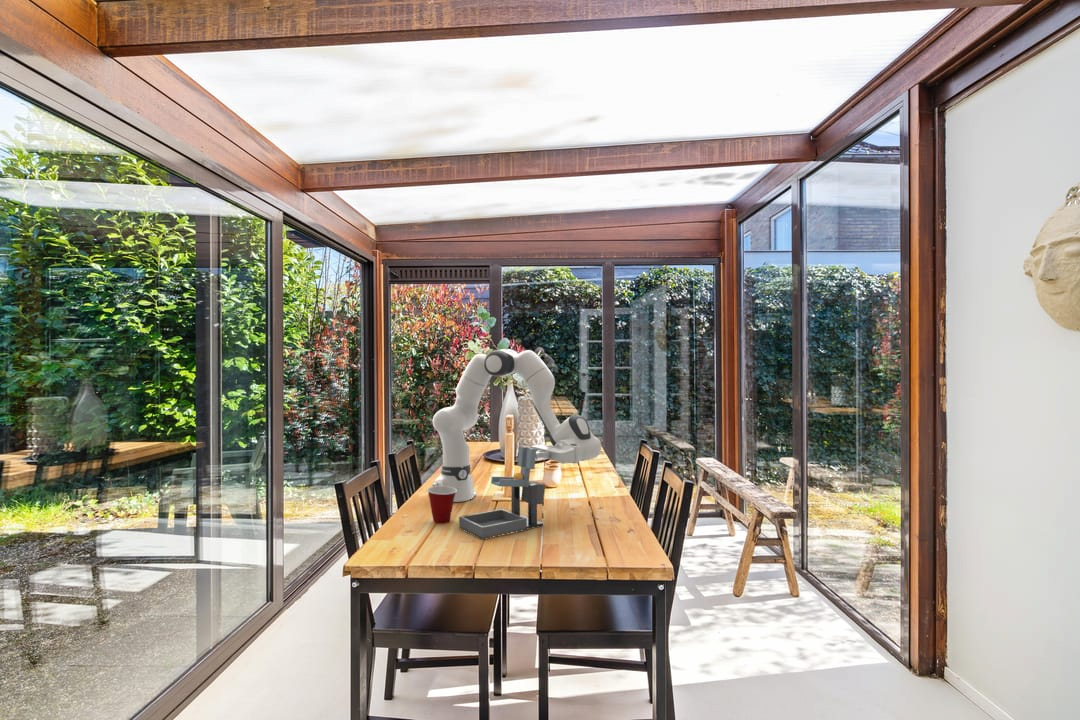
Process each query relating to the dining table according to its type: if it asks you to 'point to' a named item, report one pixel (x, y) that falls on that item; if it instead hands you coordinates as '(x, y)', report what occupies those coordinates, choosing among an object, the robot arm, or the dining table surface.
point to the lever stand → (531, 505)
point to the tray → (492, 523)
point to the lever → (526, 463)
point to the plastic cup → (441, 502)
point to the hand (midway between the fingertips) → (534, 455)
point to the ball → (518, 476)
